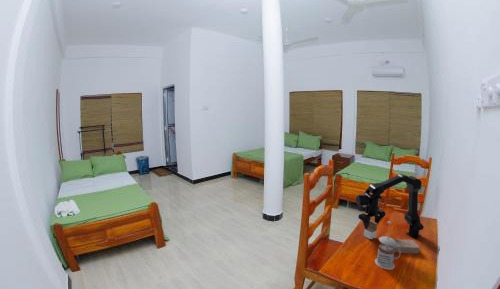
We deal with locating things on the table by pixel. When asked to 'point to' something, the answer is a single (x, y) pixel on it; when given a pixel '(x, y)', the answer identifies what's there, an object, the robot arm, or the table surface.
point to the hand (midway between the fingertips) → (370, 227)
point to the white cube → (369, 234)
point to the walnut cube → (372, 226)
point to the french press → (386, 246)
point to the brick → (406, 246)
